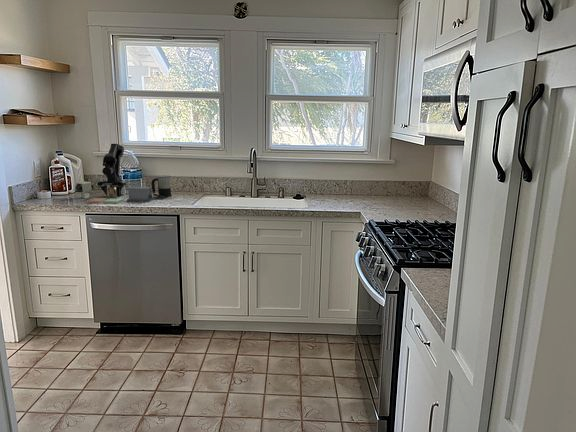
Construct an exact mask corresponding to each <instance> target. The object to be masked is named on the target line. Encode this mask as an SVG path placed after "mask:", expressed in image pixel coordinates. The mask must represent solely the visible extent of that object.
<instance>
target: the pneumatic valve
mask: <svg viewBox="0 0 576 432" xmlns="http://www.w3.org/2000/svg"><path fill="white" fill-rule="evenodd" d="M93 189H94V184H93V183H92V181H83V182H76V185H75V190H76V193H81V196H80V197H81V198H82V199H89V198H90V193H89V192H93Z"/></svg>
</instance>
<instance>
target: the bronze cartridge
mask: <svg viewBox="0 0 576 432" xmlns="http://www.w3.org/2000/svg"><path fill="white" fill-rule="evenodd" d="M107 190H108V197H109V198H108V199H110V198H118V196H117V193H116V187H110V186H109V187H108V186H107Z"/></svg>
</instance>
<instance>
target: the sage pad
mask: <svg viewBox="0 0 576 432" xmlns="http://www.w3.org/2000/svg"><path fill="white" fill-rule="evenodd" d="M124 202H125V198H118V197H117V198H110V199H109V198H108V199H107V200H105V201H103V202H102V203H103V204H113V203H115V204H116V205H117V204H120V203H124ZM115 204H114V205H115Z"/></svg>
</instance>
